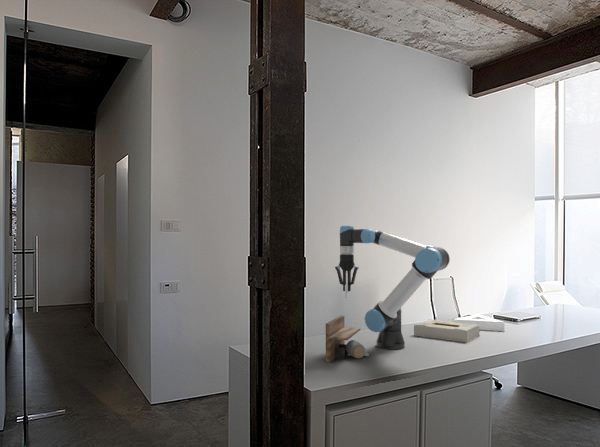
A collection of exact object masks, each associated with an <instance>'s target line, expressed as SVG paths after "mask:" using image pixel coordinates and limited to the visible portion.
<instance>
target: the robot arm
mask: <svg viewBox="0 0 600 447" xmlns="http://www.w3.org/2000/svg"><path fill="white" fill-rule="evenodd" d="M354 227H355V226H353V225H341V226H340V227H339V263H338V265H337V266H334V268H335V271H336V273H337V277H338V281H339V284H340V285H341V286H342V288H343V290H342V291H343V292H344V298H346V299H347V298H349V297H350V292H351V290H352V289H351V286H352V285H354V284H355V281H356V277H357V276H356V275H357V271H358V270H359V268H360V267H359V266H356V264H355V261H354V258H355V256H354V250H355V249H354V248H355V247H354V246H355V245H354V244H374V245H378V246H381V247H384V248H387V249H390V250H393V251H395V252H399V253H401V254H404V255H407V256H410V257H412V258H414V260H413V262H411V269H410V270H409V271H408V272H407V273H406V274H405V276H404V277H403V278H402V279H401V280H400V282H399V283H398V284H397V285H395V287H394V288H393V289H392V291H391V292H390V293H389V294H388V295H387V296H386V298H385V299H384V300H380V301H378V302H377V304H375V306H374V307H373V308H372V309H369V310H368V311H367V312H366V313H365V315H364V323H365V325H366V327H367V329H368V330H370V331H371V332H372V333H378V335H377V338H376V343H375V344H376V347H377V348H379V349H384V350H401V349H403V348H405V347H406V345H405V340H404V336H403V333H402V307H403V306H404V304H406V302H407V301H408V300H409V299H410V298H411V297H412V296H413V294H414V293H415V292H416V291H417V290H418V289H419V288H420V287H421V285H422V284H423V283H424V282H425V281H426V280H431V279H432V278H433V277H434V276H435V275H436V274H437V272H439V271H442V270H444V269H446V268H447V267H448V265H449V264H450V255H449V253H448V251H447V250H446V249H444V248H443V247H440V246H438V247H437V246H434V245H431V244H428V245H424V244H421V243H419V242H414V241H412V240H408V239H406V238H402V237H400V236H396V235H394V234H390V233H388V232H384V231H382V230H381V229H377V228H372V229H371V228H359V229H358V228H357V229H356V228H354ZM341 270H342V272H341ZM352 270H353V273H352ZM351 273H352V275H351Z"/></svg>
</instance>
